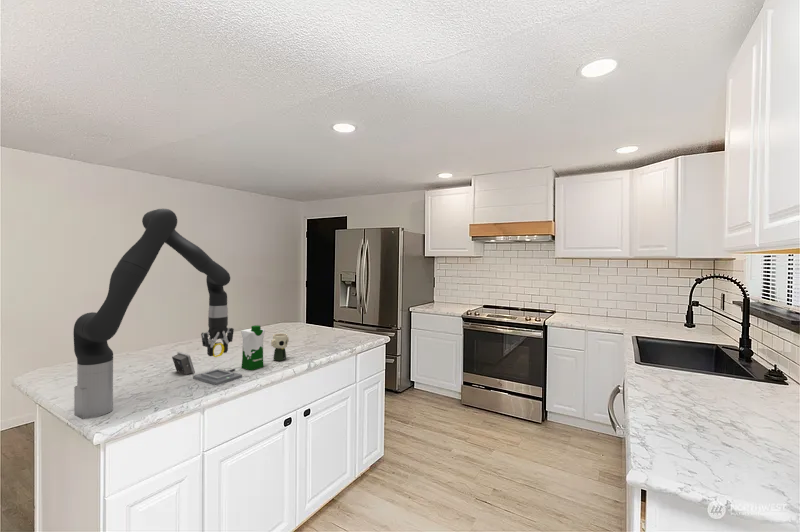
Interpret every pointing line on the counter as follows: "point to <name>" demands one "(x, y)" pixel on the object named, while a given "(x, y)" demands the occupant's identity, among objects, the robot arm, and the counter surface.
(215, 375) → the charging dock
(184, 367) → the electrical switch
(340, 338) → the counter surface
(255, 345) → the milk carton
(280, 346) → the character mug
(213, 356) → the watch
